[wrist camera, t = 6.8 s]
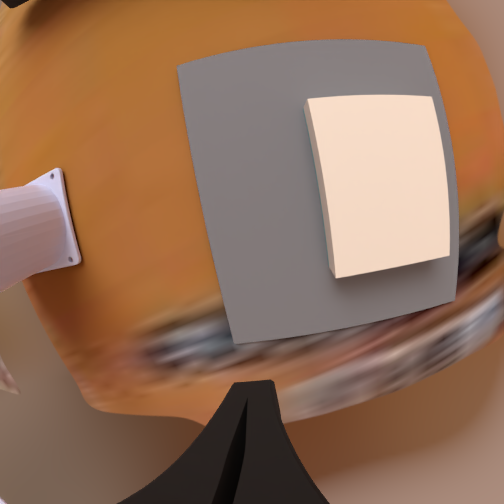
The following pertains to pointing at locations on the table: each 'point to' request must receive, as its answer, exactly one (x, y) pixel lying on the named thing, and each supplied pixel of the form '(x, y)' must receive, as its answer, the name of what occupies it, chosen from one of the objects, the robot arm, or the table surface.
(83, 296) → the table surface
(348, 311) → the mat
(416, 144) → the tile
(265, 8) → the table surface
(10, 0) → the magazine
